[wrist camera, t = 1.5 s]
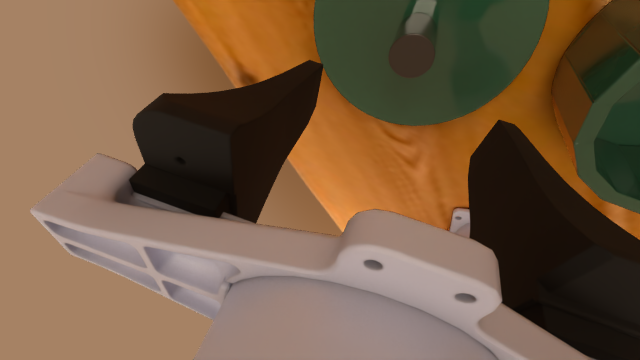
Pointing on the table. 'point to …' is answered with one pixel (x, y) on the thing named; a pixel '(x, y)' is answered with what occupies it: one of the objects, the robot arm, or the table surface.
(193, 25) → the table surface
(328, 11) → the lid
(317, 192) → the table surface
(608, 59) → the pot
